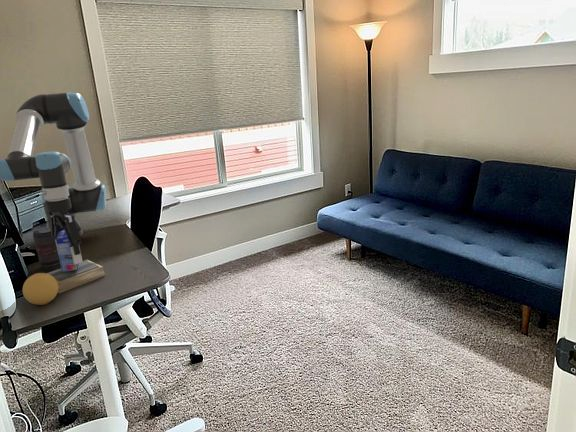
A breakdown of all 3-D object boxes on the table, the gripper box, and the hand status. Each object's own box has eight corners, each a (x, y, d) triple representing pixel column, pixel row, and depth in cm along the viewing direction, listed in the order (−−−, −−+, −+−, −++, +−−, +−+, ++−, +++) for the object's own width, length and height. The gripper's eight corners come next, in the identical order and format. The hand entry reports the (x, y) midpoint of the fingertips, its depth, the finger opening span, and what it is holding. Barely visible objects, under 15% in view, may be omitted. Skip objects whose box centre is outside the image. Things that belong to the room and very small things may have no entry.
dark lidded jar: (48, 272, 164) (39, 234, 160) (36, 268, 169) (27, 231, 164) (68, 264, 171) (60, 227, 167) (56, 260, 175) (48, 225, 171)
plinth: (44, 284, 154) (42, 273, 153) (88, 268, 165) (86, 258, 164) (59, 293, 146) (57, 282, 145) (104, 275, 158) (102, 265, 157)
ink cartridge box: (79, 269, 151) (71, 229, 146) (62, 272, 149) (52, 232, 145) (81, 259, 160) (73, 221, 155) (65, 262, 158) (56, 224, 154)
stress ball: (49, 312, 136) (69, 283, 140) (20, 297, 130) (41, 268, 134) (40, 307, 143) (59, 280, 147) (11, 293, 137) (32, 265, 141)
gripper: (31, 196, 152) (45, 256, 158) (61, 205, 137) (75, 270, 144) (53, 192, 157) (66, 249, 164) (84, 200, 143) (97, 262, 149)
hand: (70, 259), depth 154 cm, fingers closed on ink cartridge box, 11 cm apart
